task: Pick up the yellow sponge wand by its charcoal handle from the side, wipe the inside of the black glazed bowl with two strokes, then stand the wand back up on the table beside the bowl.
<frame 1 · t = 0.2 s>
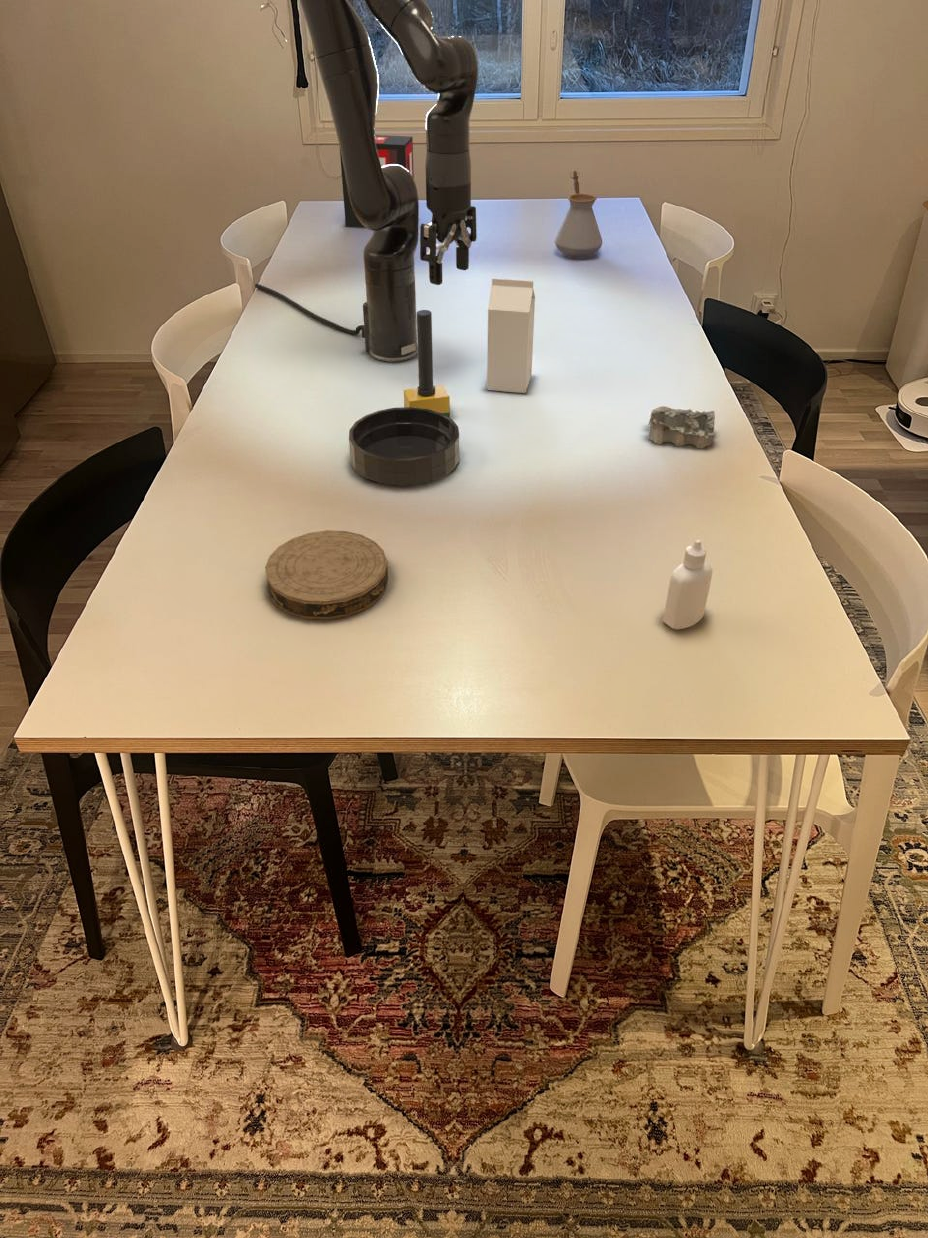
hand: (449, 276, 167), 17 cm above the table, tool pointing down, fingers open, 8 cm apart
eye dropper bottle: (683, 620, 120), on the table
cleaning product box: (380, 223, 247), on the table
wood slice: (328, 583, 126), on the table
milk carton: (509, 384, 172), on the table
coffee pot: (575, 247, 232), on the table
bowl: (405, 460, 151), on the table
sponge wand: (427, 414, 163), on the table
egg carton: (679, 437, 157), on the table
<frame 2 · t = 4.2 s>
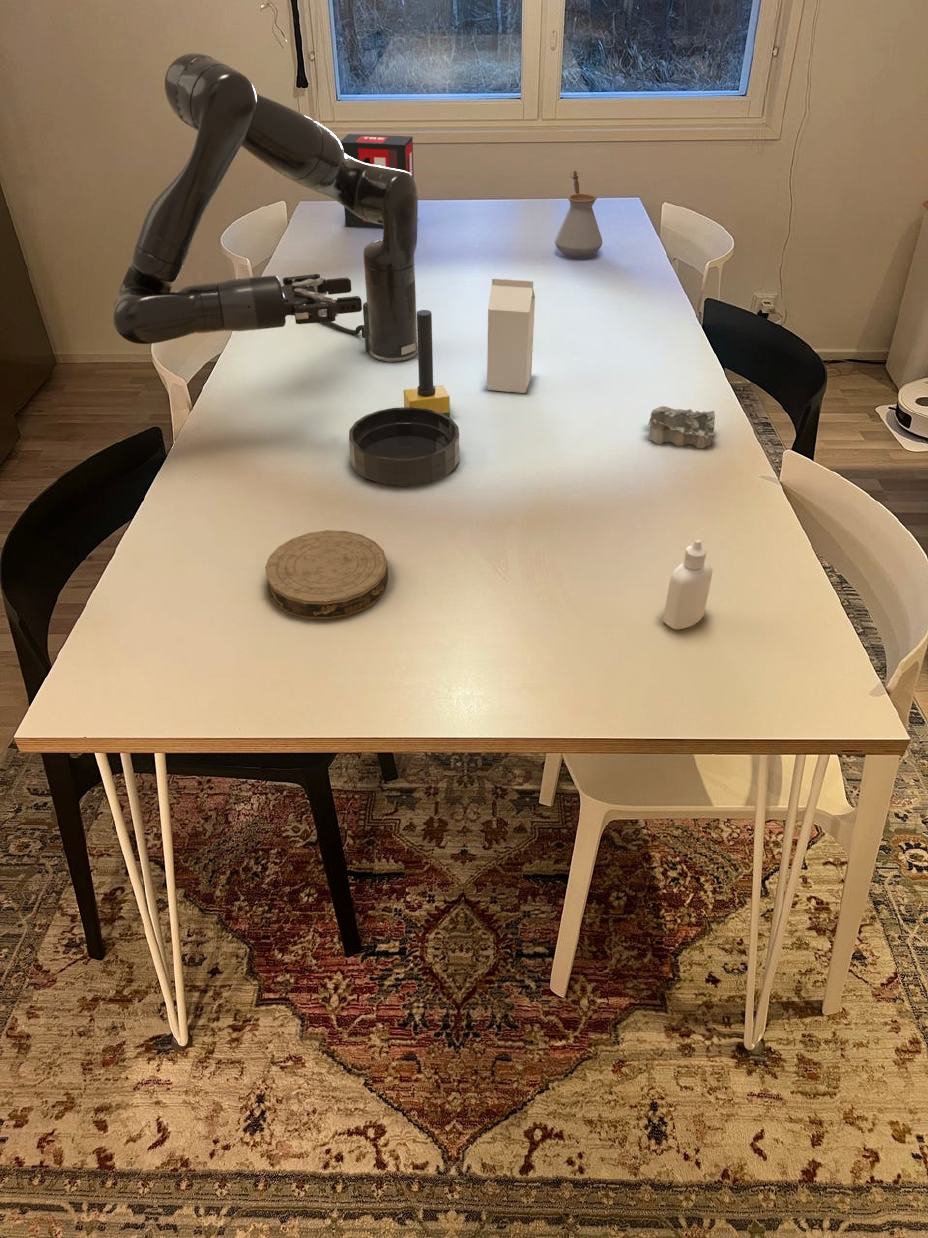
hand: (355, 293, 147), 22 cm above the table, tool horizontal, fingers open, 8 cm apart
nothing on the table moved.
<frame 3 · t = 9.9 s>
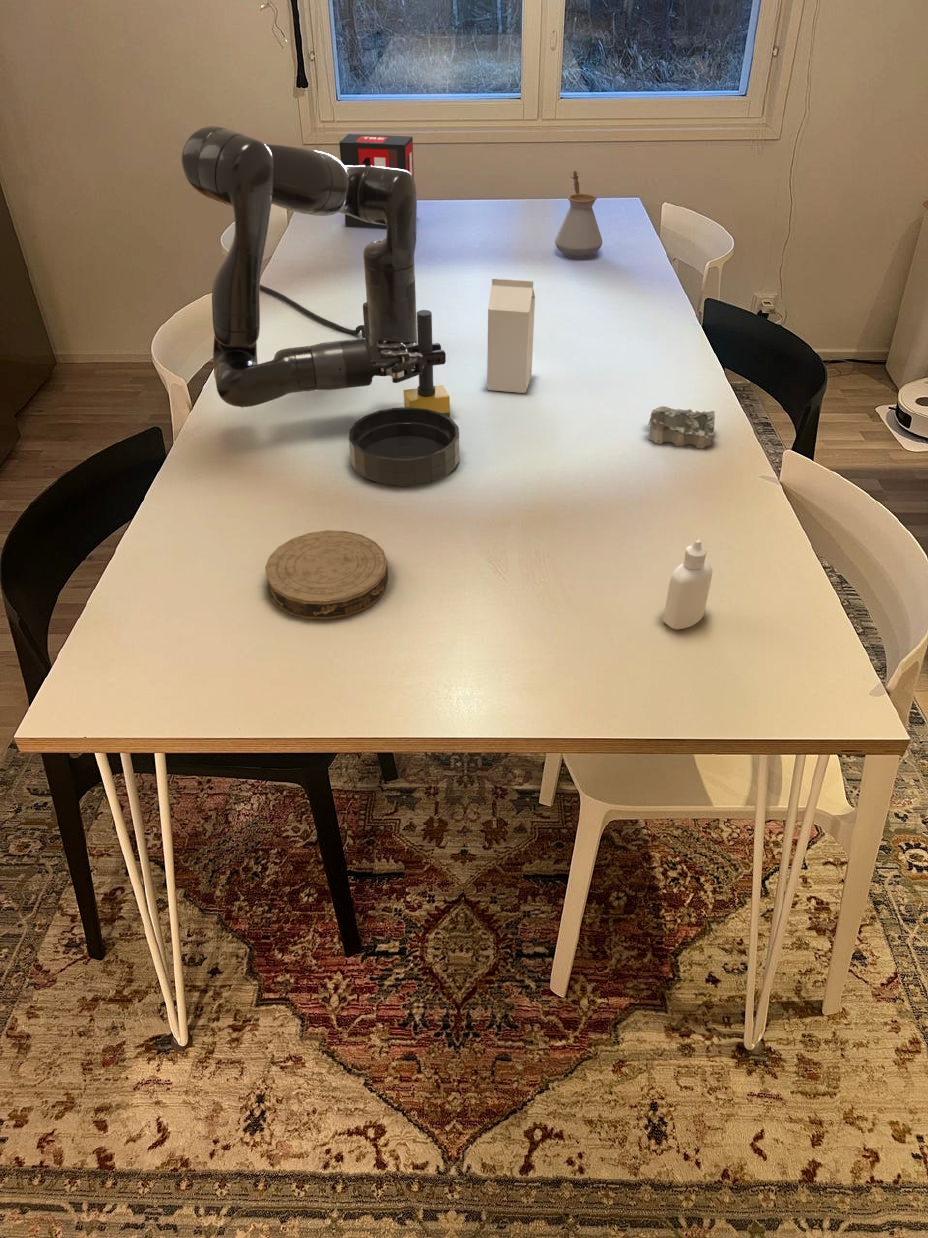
hand: (442, 352, 157), 11 cm above the table, tool horizontal, fingers closed on sponge wand, 2 cm apart
sponge wand: (427, 414, 163), on the table, touching gripper
everything else where it was.
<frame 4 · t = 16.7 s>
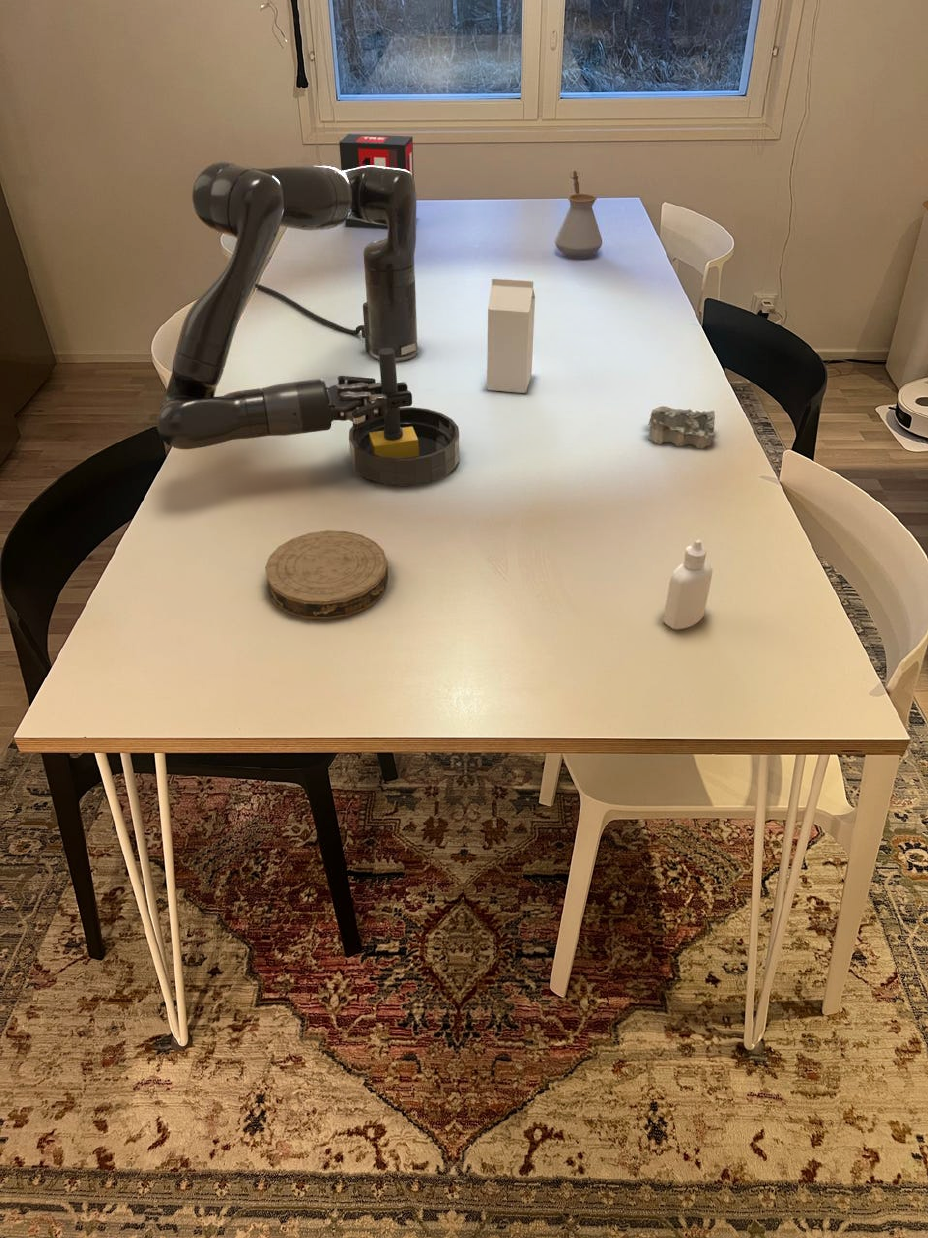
hand: (408, 393, 144), 11 cm above the table, tool horizontal, fingers closed on sponge wand, 2 cm apart
sponge wand: (395, 458, 150), point 1 cm above the table, touching bowl, gripper
everything else where it was.
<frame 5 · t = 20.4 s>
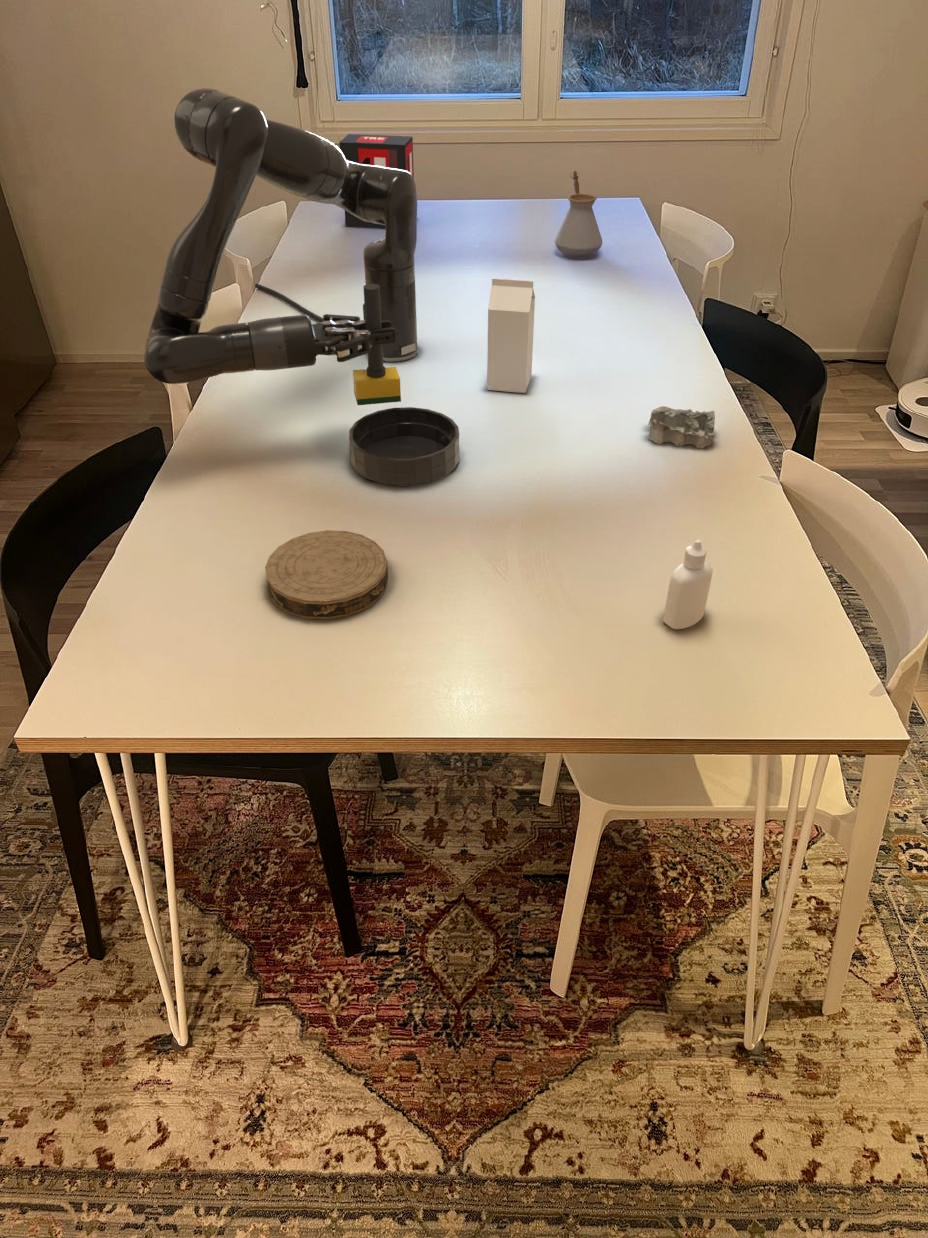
hand: (392, 330, 146), 18 cm above the table, tool horizontal, fingers closed on sponge wand, 2 cm apart
sponge wand: (377, 397, 152), point 7 cm above the table, touching gripper
everything else where it was.
when the fingers open (11 cm above the table, at t = 23.5 s): sponge wand stays where it is, on the table.
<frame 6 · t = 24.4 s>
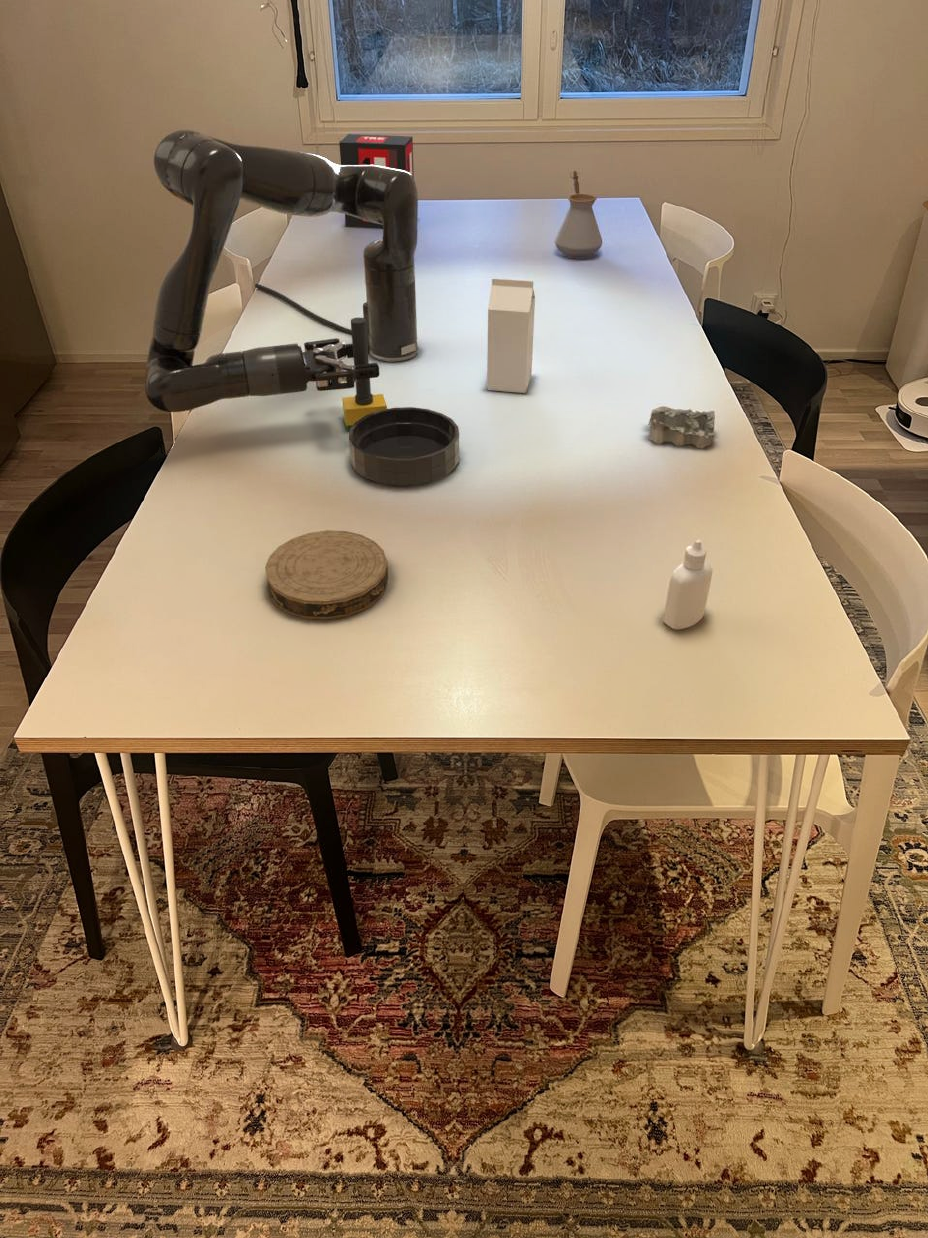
hand: (373, 358, 154), 11 cm above the table, tool horizontal, fingers open, 8 cm apart
sponge wand: (365, 422, 161), on the table
everything else where it was.
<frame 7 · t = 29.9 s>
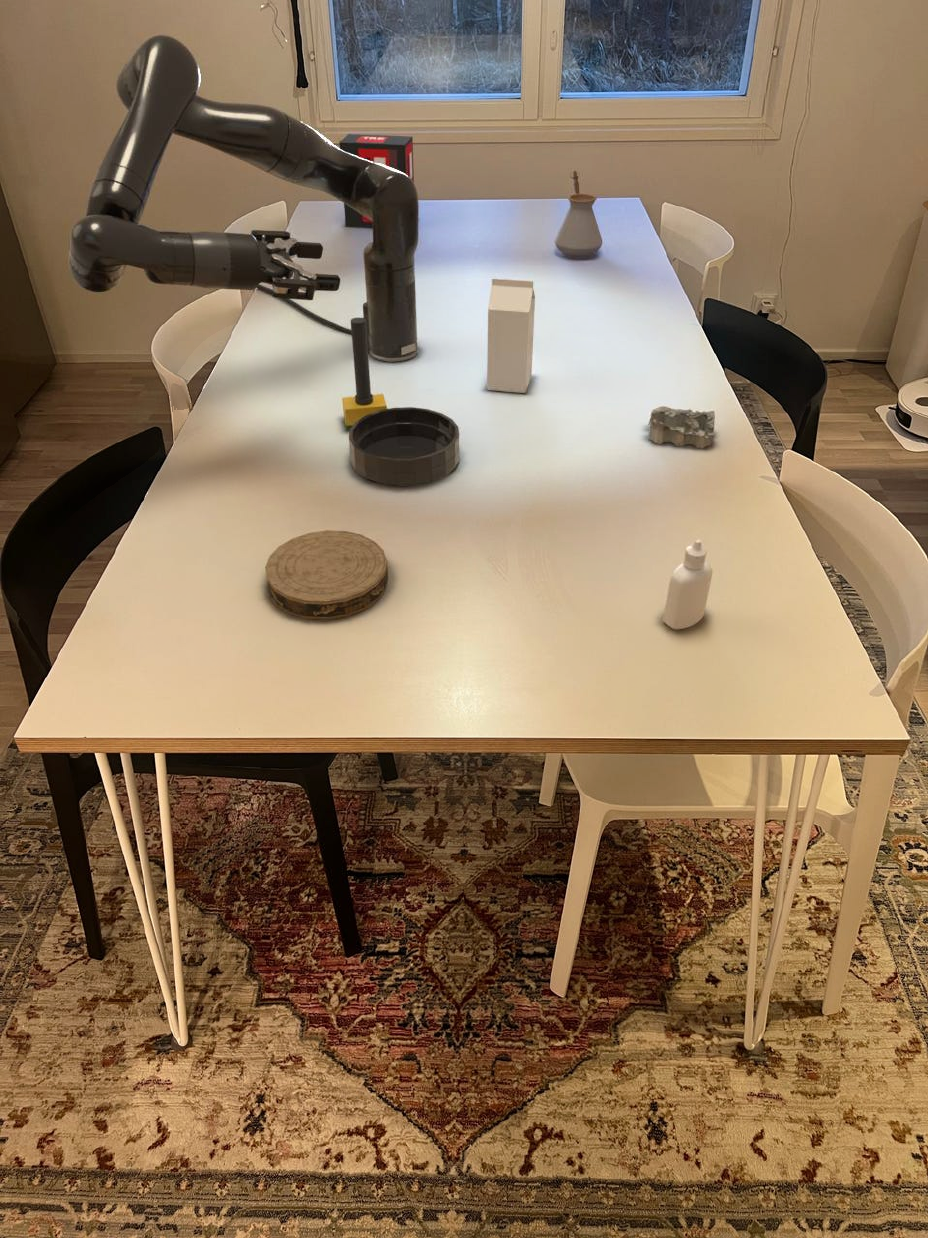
hand: (330, 266, 140), 28 cm above the table, tool horizontal, fingers open, 8 cm apart
nothing on the table moved.
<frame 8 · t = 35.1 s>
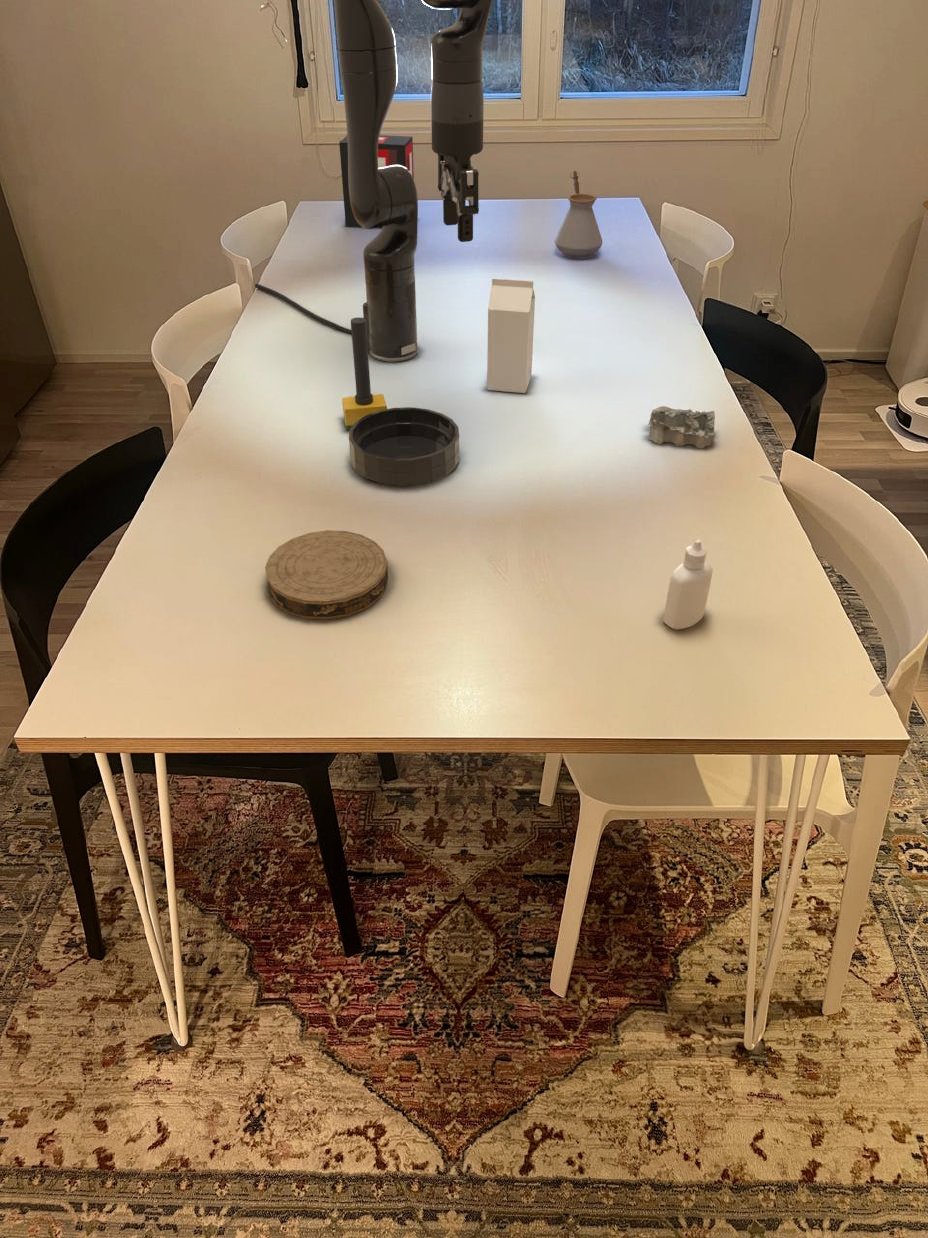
hand: (457, 232, 145), 30 cm above the table, tool pointing down, fingers open, 8 cm apart
nothing on the table moved.
at the end: sponge wand inside the target area (0.2 cm from its centre), on the table; sponge wand tilted 0°; the gripper is holding nothing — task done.
